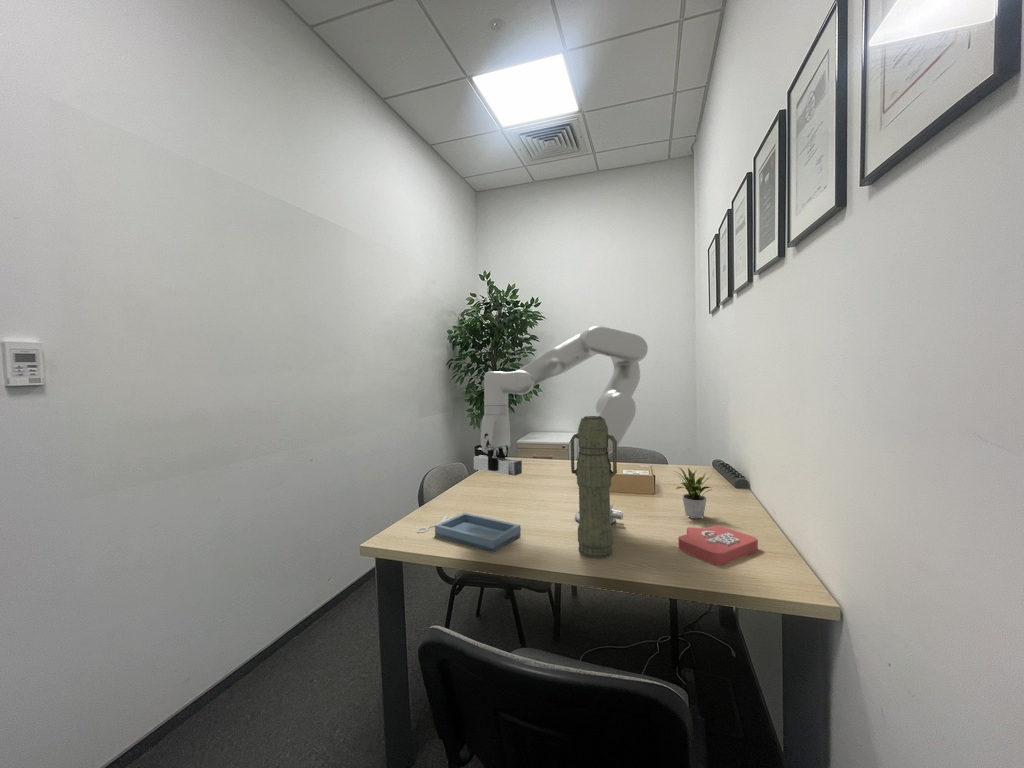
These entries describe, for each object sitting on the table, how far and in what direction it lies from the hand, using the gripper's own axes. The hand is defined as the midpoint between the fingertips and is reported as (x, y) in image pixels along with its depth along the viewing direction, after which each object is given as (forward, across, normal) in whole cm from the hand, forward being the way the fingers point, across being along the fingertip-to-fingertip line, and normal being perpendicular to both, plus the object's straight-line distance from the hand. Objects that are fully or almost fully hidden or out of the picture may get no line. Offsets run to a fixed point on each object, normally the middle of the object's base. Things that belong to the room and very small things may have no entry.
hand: (496, 468), depth 123 cm
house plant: (+17, -40, +48) cm, 65 cm away
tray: (+18, +10, +1) cm, 20 cm away
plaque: (+18, -18, +58) cm, 63 cm away
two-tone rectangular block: (+1, 0, 0) cm, 1 cm away
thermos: (+17, +1, +34) cm, 38 cm away
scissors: (+18, +9, -15) cm, 25 cm away
